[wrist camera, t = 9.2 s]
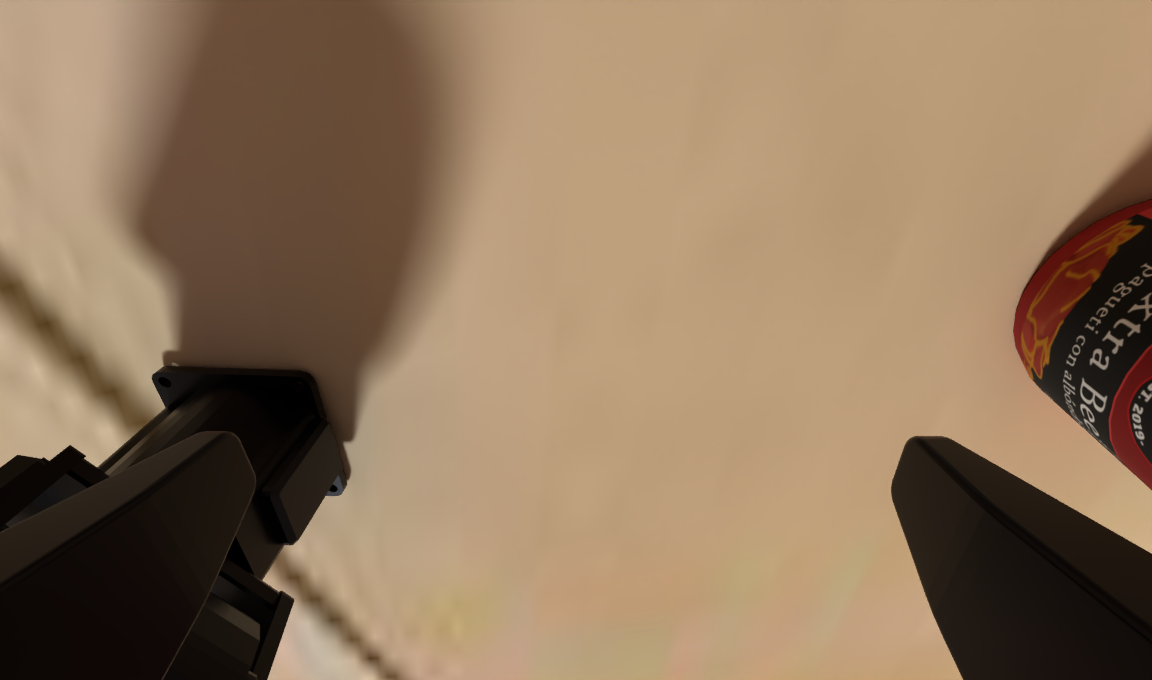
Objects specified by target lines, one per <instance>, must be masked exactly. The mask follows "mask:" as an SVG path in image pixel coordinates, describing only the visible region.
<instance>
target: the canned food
mask: <svg viewBox="0 0 1152 680" xmlns="http://www.w3.org/2000/svg"><path fill="white" fill-rule="evenodd" d="M1013 332H1014V339H1015V346H1016V349H1017V351H1018V353H1019V355H1020V358H1021V360H1022V362H1023V364H1024V366H1025V368H1026V370H1027V372H1028V374H1029V376H1030V378H1031V379H1032V380H1033V381H1034V382H1035V383H1036V385H1037V386H1038V387H1039V388H1040V389H1041V390H1042V391H1043V392H1044V393H1045V394H1047V395H1048V396H1049V397H1050V398H1051V399H1052V400H1053V401H1054V402H1055V403H1056V404H1058V405H1059V406H1060V407H1061V408H1062V409H1063V410H1064V411H1065V412H1066V413H1067V414H1069V415H1070V416H1071V417H1072V418H1073V419H1074V420H1075V421H1076V422H1077V423H1078V424H1080V425H1081V426H1082V427H1083V428H1084V429H1085V430H1086V431H1087V432H1088V433H1089V434H1091V435H1092V436H1093V437H1094V438H1095V439H1096V440H1097V441H1098V442H1099V443H1100V444H1102V445H1103V446H1104V447H1105V448H1106V449H1107V450H1108V451H1109V452H1110V453H1111V454H1113V455H1114V456H1115V457H1116V458H1117V459H1118V460H1119V461H1120V462H1121V463H1122V464H1124V465H1125V466H1126V467H1127V468H1128V469H1129V470H1130V471H1131V472H1132V473H1133V474H1135V475H1136V476H1137V477H1138V478H1139V479H1140V480H1141V481H1142V482H1143V483H1144V484H1146V485H1147V486H1148V487H1149V488H1150V489H1151V490H1152V199H1151V200H1148V201H1145V202H1142V203H1139V204H1136V205H1133V206H1130V207H1127V208H1124V209H1122V210H1120V211H1118V212H1116V213H1114V214H1112V215H1110V216H1108V217H1106V218H1104V219H1101V220H1099V221H1097V222H1096V223H1094V224H1093V225H1091V226H1090V227H1088V228H1087V229H1085V230H1084V231H1082V232H1080V233H1079V234H1077V235H1076V236H1074V237H1073V238H1072V239H1070V240H1069V241H1068V242H1067V243H1066V244H1065V245H1063V246H1062V247H1061V248H1060V249H1059V250H1058V251H1056V252H1055V253H1054V254H1053V255H1052V256H1051V257H1050V258H1049V259H1048V260H1047V261H1046V263H1045V264H1044V265H1043V266H1042V267H1041V268H1040V269H1039V271H1038V272H1037V273H1036V274H1035V275H1034V277H1033V278H1032V280H1031V282H1030V283H1029V285H1028V287H1027V288H1026V290H1025V291H1024V293H1023V295H1022V297H1021V300H1020V303H1019V305H1018V308H1017V311H1016V314H1015V322H1014V330H1013Z"/></svg>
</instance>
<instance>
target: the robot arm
mask: <svg viewBox="0 0 1152 680" xmlns="http://www.w3.org/2000/svg"><path fill="white" fill-rule="evenodd" d="M152 380H153V383H154V385H155V387H156V389H157V391H158V393H159V395H160V397H161V399H162V401H163V403H164V405H165V407H166V408H165V409H164V410H163V411H162V412H161V413H159V414H158V415H157V416H156V417H155V418H154V419H153V420H151V421H150V422H149V423H148V424H147V425H146V426H144V427H143V428H142V429H141V430H140V431H139V432H138V433H136V434H135V435H134V436H133V437H132V438H131V439H130V440H128V441H127V442H126V443H125V444H124V445H123V446H122V447H120V448H119V449H118V450H117V451H116V452H115V453H113V454H112V455H111V456H110V457H109V458H108V459H107V460H105V461H104V462H103V463H102V464H101V465H100V466H99V467H95V466H94V465H92V464H91V463H89V462H88V461H87V460H85V459H84V458H85V457H86V456H85V455H84V454H83V453H81V452H80V451H78V450H77V449H75V448H74V447H72V446H71V445H70V446H68V447H67V448H66V449H64V450H63V451H62V452H60V453H59V454H58V455H57V456H55V457H54V458H53V459H51V460H50V461H49V460H47V459H46V458H44V457H43V458H42V459H39V458H33V457H27V456H21V455H17V456H15V457H14V458H13V459H11V460H10V461H9V462H7V463H6V464H5V465H3V466H2V467H1V468H0V680H267V678H268V676H269V673H270V670H271V667H272V664H273V661H274V658H275V655H276V652H277V649H278V646H279V644H280V641H281V638H282V635H283V632H284V629H285V626H286V623H287V620H288V617H289V614H290V611H291V609H292V606H293V603H294V598H292V597H291V596H289V595H288V594H286V593H285V592H283V591H280V592H278V591H277V590H275V589H274V588H272V587H271V586H269V585H268V584H266V583H265V582H263V581H262V580H263V578H264V577H265V575H266V574H267V572H268V571H269V569H270V567H271V566H272V564H273V563H274V561H275V559H276V558H277V556H278V555H279V553H280V551H281V550H282V548H283V547H284V545H293V544H294V543H295V542H296V541H298V540H299V538H300V537H301V535H302V533H303V532H304V530H305V529H306V527H307V525H308V524H309V522H310V520H311V519H312V517H313V515H314V514H315V512H316V510H317V509H318V507H319V506H320V504H321V502H322V501H323V499H324V497H325V496H339V495H341V494H342V493H343V491H344V489H345V488H346V486H347V481H346V478H345V474H344V471H343V464H342V460H341V457H340V454H339V451H338V447H337V444H336V441H335V438H334V434H333V431H332V428H331V425H330V423H329V421H328V420H327V416H326V413H325V410H324V407H323V403H322V400H321V397H320V394H319V391H318V387H317V384H316V381H315V379H314V378H313V377H312V376H311V375H310V374H309V373H307V372H304V371H293V370H263V369H234V368H204V367H174V366H166V367H162V368H161V369H160V370H158V371H157V372H156V373H154V374H153V376H152ZM298 382H300V383H302V384H303V385H304V386H302V385H300V384H299V383H298ZM891 494H892V500H893V503H894V506H895V509H896V512H897V515H898V518H899V520H900V523H901V526H902V529H903V532H904V535H905V538H906V540H907V543H908V546H909V549H910V552H911V555H912V558H913V560H914V563H915V566H916V569H917V572H918V575H919V577H920V580H921V583H922V586H923V589H924V592H925V595H926V597H927V600H928V602H929V605H930V608H931V610H932V613H933V615H934V618H935V620H936V622H937V624H938V627H939V629H940V631H941V633H942V636H943V638H944V640H945V642H946V644H947V646H948V648H949V650H950V653H951V655H952V657H953V659H954V661H955V663H956V665H957V667H958V670H959V672H960V674H961V676H962V678H963V680H1152V554H1151V553H1150V552H1148V551H1146V550H1144V549H1143V548H1141V547H1139V546H1137V545H1136V544H1134V543H1132V542H1130V541H1128V540H1127V539H1125V538H1123V537H1121V536H1120V535H1118V534H1116V533H1114V532H1113V531H1111V530H1109V529H1107V528H1106V527H1104V526H1102V525H1100V524H1099V523H1097V522H1095V521H1093V520H1092V519H1090V518H1088V517H1086V516H1085V515H1083V514H1081V513H1079V512H1078V511H1076V510H1074V509H1072V508H1071V507H1069V506H1067V505H1065V504H1064V503H1062V502H1060V501H1058V500H1057V499H1055V498H1053V497H1051V496H1050V495H1048V494H1046V493H1044V492H1043V491H1041V490H1039V489H1037V488H1036V487H1034V486H1032V485H1030V484H1029V483H1027V482H1025V481H1023V480H1022V479H1020V478H1018V477H1016V476H1015V475H1013V474H1011V473H1009V472H1008V471H1006V470H1004V469H1002V468H1001V467H999V466H997V465H995V464H994V463H992V462H990V461H988V460H987V459H985V458H983V457H981V456H980V455H978V454H976V453H974V452H973V451H971V450H969V449H967V448H966V447H964V446H962V445H960V444H959V443H957V442H955V441H953V440H952V439H950V438H947V437H943V436H915V437H912V438H910V439H909V440H908V441H907V442H906V444H905V446H904V449H903V452H902V455H901V458H900V460H899V463H898V466H897V469H896V472H895V475H894V478H893V480H892V486H891Z"/></svg>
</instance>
